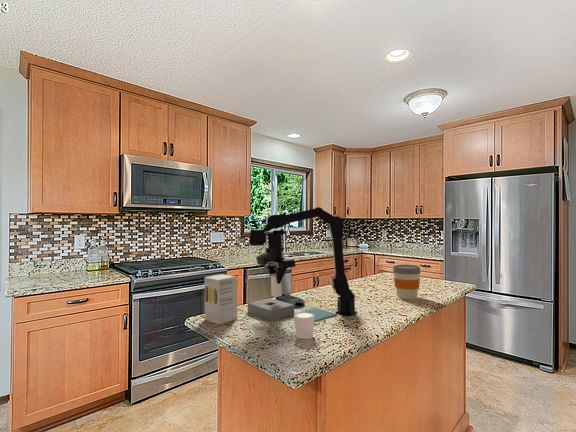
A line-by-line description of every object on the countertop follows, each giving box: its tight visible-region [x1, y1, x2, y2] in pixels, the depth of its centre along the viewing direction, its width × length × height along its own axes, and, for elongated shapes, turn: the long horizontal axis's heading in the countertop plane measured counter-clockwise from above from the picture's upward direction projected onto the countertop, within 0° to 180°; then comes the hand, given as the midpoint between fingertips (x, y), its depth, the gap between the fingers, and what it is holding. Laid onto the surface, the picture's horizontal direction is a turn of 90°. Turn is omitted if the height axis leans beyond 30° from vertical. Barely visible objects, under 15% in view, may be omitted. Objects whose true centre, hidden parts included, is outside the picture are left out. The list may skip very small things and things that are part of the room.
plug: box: [270, 273, 283, 298], centre depth 131 cm, size 3×3×9 cm
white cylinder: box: [293, 311, 315, 340], centre depth 105 cm, size 7×7×7 cm
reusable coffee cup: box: [392, 264, 421, 301], centre depth 155 cm, size 13×13×15 cm
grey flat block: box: [247, 297, 295, 322], centre depth 131 cm, size 16×12×4 cm
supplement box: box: [204, 273, 238, 325], centre depth 124 cm, size 10×9×17 cm
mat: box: [294, 307, 337, 323], centre depth 128 cm, size 12×12×1 cm
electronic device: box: [275, 293, 306, 308], centre depth 146 cm, size 9×6×15 cm
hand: (276, 283), depth 131 cm, fingers closed on plug, 3 cm apart
